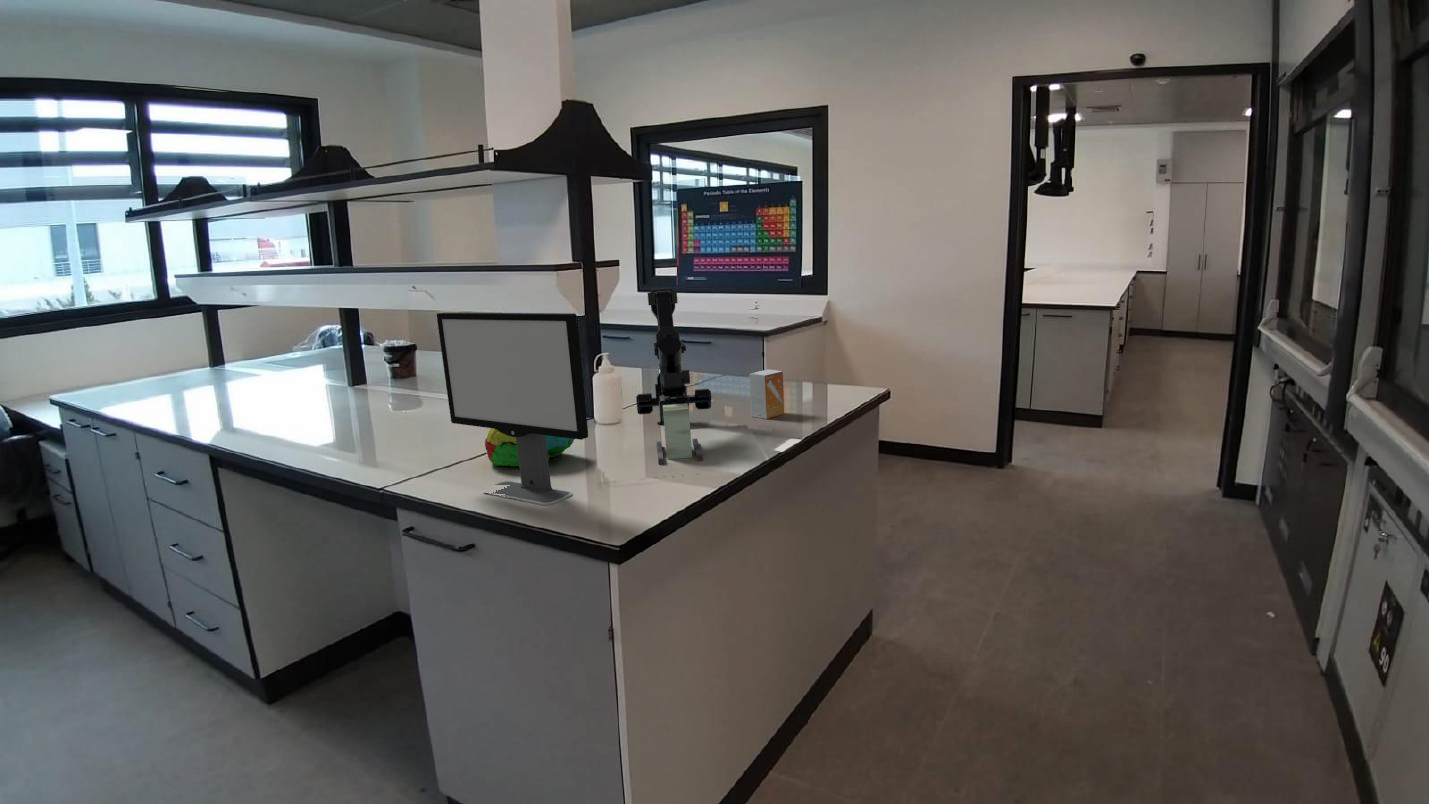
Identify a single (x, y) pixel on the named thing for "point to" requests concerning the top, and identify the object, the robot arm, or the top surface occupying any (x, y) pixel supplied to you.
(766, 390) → the small box
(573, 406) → the computer monitor
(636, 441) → the top surface
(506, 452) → the brain model
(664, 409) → the sage block
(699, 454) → the walnut chute
